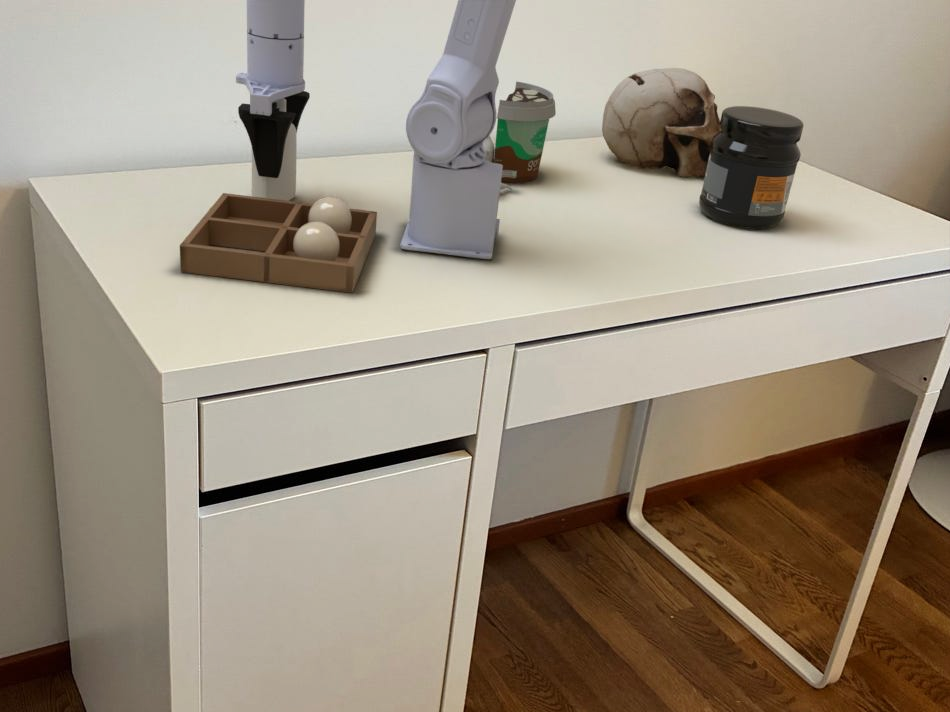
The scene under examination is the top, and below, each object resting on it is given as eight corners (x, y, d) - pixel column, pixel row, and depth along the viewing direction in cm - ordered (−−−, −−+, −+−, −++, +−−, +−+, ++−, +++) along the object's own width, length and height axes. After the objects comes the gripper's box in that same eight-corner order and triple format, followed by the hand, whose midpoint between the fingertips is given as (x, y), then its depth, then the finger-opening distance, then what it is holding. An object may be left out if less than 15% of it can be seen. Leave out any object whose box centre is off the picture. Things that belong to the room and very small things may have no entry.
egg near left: (354, 236, 115) (356, 194, 112) (347, 250, 111) (349, 207, 109) (311, 231, 115) (312, 188, 112) (303, 245, 111) (304, 202, 109)
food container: (538, 193, 135) (550, 108, 130) (489, 184, 136) (498, 100, 131) (553, 167, 146) (564, 87, 140) (507, 159, 146) (516, 80, 141)
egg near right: (342, 262, 108) (344, 218, 106) (335, 278, 105) (336, 233, 102) (297, 256, 108) (298, 212, 106) (288, 272, 105) (289, 227, 102)
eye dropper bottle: (242, 194, 122) (240, 80, 115) (288, 190, 125) (290, 79, 118) (258, 207, 119) (258, 91, 112) (306, 202, 122) (308, 89, 115)
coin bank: (749, 170, 154) (764, 69, 146) (672, 201, 144) (683, 95, 136) (659, 144, 163) (669, 48, 155) (581, 171, 153) (587, 70, 145)
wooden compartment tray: (375, 235, 117) (377, 211, 115) (352, 293, 103) (353, 266, 102) (223, 217, 117) (223, 192, 115) (180, 272, 103) (179, 245, 102)
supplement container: (799, 230, 134) (827, 128, 128) (727, 233, 130) (751, 128, 124) (750, 201, 142) (774, 104, 135) (680, 203, 138) (701, 103, 131)
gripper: (252, 17, 119) (253, 145, 126) (218, 42, 106) (221, 182, 114) (318, 25, 119) (314, 153, 126) (291, 51, 106) (289, 191, 114)
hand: (274, 168), depth 120 cm, fingers closed on eye dropper bottle, 5 cm apart
